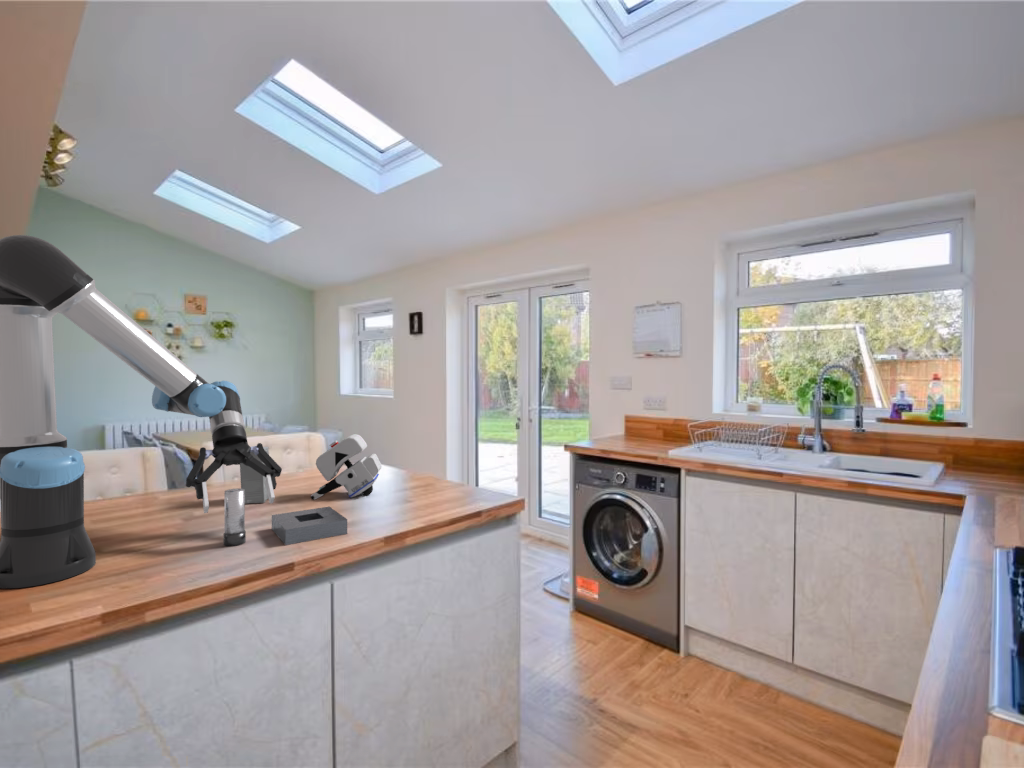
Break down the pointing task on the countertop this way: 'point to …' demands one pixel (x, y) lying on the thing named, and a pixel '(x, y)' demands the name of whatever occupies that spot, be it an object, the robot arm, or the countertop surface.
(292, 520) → the chuck block
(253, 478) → the product box
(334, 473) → the robotic device
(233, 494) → the grey black cylinder
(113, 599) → the countertop surface
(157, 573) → the countertop surface
